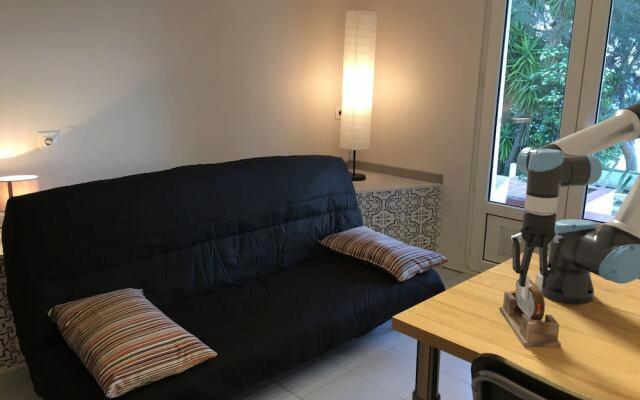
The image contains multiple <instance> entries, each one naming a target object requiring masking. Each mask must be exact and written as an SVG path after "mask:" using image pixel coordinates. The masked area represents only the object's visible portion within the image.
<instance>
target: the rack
mask: <svg viewBox="0 0 640 400" xmlns="http://www.w3.org/2000/svg"><path fill="white" fill-rule="evenodd" d="M515 293H516V290H504V294H503V303H502V306H500V307H499V311H500V313H501V315H502V316H503V318H504V320H506V322H507V324H508V326H509V327H510V329H511V330H512V331H513V333H514V335H515V336H516V338H517V339H518V340H519V342H520V343H521V345H522V346H523V347H525V348H526V347H527V348H561V346H562V343H561V342H560V341H559V333H560V332H559V331H560V323H559V322H558V321H557V320H556V319H555V317H553V315H552V314H544V320H543V319H542V320H540V321H539V320H531V318H530V317H529V316H528V314H524V313H523V312H522V311H521V310H520V308H519V307H518V305H517V303H516V299H515Z"/></svg>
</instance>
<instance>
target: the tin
mask: <svg viewBox="0 0 640 400" xmlns="http://www.w3.org/2000/svg"><path fill="white" fill-rule="evenodd" d="M521 289H522V287H521V286H520V285H519V278H518V279H517V280H516V282H515V291H516V293H515V299H516V303H517V305H518V307H519V308H520V310H521V311H522V312H523V313H524V314H528V316H529V317H530V318H531V320H539V321H540V320H542V321H543V319H544V317H545V312H546V311H545V310H546V309H545V308H546V307H545V305H546V304H545V303H546V302H545V296H544V295H543V293H542V291H541V290H540V288H539V287H537V286H536V285H535V282H534V281H533V280H532V279H530V280H529V289H528V298H527V300H524V299H523V298H522V296H521Z"/></svg>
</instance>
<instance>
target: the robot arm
mask: <svg viewBox="0 0 640 400" xmlns="http://www.w3.org/2000/svg"><path fill="white" fill-rule="evenodd" d="M637 139H640V101H639V102H636V103H634V104H632V105H631V104H630V105H628V106H627V107H624V108H621V109H618V110H617V111H616V112H614V114H612V116H611V117H609V118H607V119H604V120H602V121H599V122H597V123H595V124H593V125H591V126H588V127H585V128H583V129H581V130H579V131H577V132H574V133H571V134H569V135H566V136H565V137H562V138H560V139H557V140H555V141H553V142H549V143H548V144H545V145H542V146H540V147H536V146H527V147H524V148H523V149H521V151H520V152H519V154H518V155H517V160H516V161H517V164H516V165H517V167H518V169H519V170H520V172H523V173H525V174H527V177H526V180H527V182H526V190H525V191H526V193H525V200H524V201H525V202H524V209H525V210H524V212H523V216H522V217H523V218H522V228H521V230H520V232H519V233H517V234H510V235H509V238H510V241H511V245H512V246H511V247H512V248H511V250H512V251H511V253H512V255H511V256H512V259H511V260H512V261H511V262H512V270H513V271H514V273H515V274H519V275H518V276H519V277H518V279H519V285H520V286H521V287H522V289H521V296H522V298H523V299H524V300H527V298H528V289H529V280H531V279H530V278H531V277H530V275H529V274H528V272H529V268H530V266H531V265H530V264H531V260H532V257H533V253H534V251H535V248H538V258H539V259H538V260H539V261H538V262H539V263H538V264H539V272H536V275H535V280H534V281H535V282H534V284H535V285H536V286H537V287H539V288H540V290H541V291H542V293H543V296H544V297H546V298H548V299H550V300H552V301H556V302H560V303H563V304H564V303H565V304H574V305H581V304H587V303H591V302H592V301H593V300H594V295H595V289H594V285H593V280H592V276H591V275H592V274H594V275H596V276H598V277H601V278H603V279H604V280H606V281H611V282H613V283H616V284H620V285H621V284H623V285H624V284H628V283H631V282H634V281H635V280H637V279H638V278H639V277H640V173H638V176H637V177H636V178H635V181H634V183H633V184H632V186H631V188H630V189H629V191H628V193H627V195H626V196H625V198H624V200H623V202H622V203H621V205H620V207H619V208H618V210H617V211H616V214H615V216H614V217H613V219H612V220H611V221H609V222H608V221H607V222H604V223H603V224H602V226H601V227H600V230H597V228H598V227H597V223H596V222H595V221H593V220H589V219H577V218H576V219H573V218H572V219H571V218H570V219H567V218H566V219H561V220H557V211H558V205H559V195H560V190H561V188H563V187H564V188H565V187H566V188H567V187H579V186H581V187H583V186H587V185H592V184H595V183H596V182H598V181H599V180H600V179H601V177H602V173H603V166H602V162H601V161H600V159H599V158H598V157H596V156H594V154H596V153H599V152H601V151H603V150H606V149H607V148H610V147H612V146H615V145H617V144H619V143H622V142H624V141H625V142H632V141H634V140H637ZM556 220H557V221H556ZM522 240H523V241H524V242H525V243H524V250H523V254H522V257H521V244H520V243H522ZM591 273H592V274H591Z"/></svg>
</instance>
